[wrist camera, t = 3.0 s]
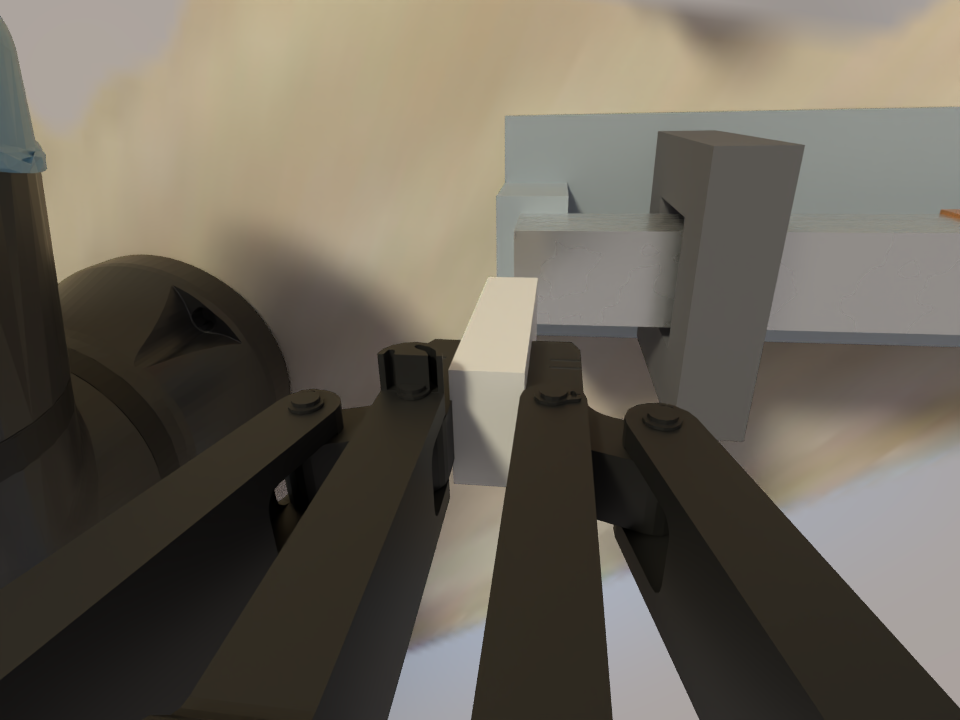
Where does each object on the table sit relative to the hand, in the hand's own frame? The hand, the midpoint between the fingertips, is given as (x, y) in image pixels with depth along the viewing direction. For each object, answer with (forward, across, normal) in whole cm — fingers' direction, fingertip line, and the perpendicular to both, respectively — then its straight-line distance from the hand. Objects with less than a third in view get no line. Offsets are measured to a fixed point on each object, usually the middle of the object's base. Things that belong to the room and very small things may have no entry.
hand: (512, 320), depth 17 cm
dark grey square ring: (+11, +7, 0) cm, 13 cm away
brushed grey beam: (+8, +12, 0) cm, 14 cm away
